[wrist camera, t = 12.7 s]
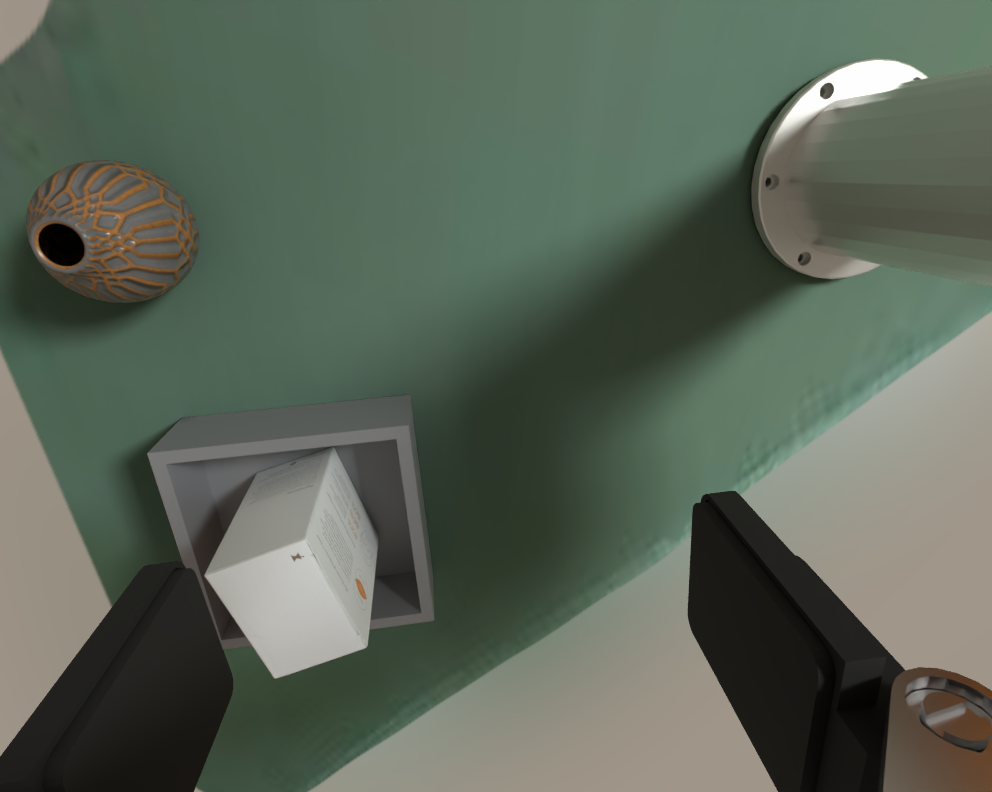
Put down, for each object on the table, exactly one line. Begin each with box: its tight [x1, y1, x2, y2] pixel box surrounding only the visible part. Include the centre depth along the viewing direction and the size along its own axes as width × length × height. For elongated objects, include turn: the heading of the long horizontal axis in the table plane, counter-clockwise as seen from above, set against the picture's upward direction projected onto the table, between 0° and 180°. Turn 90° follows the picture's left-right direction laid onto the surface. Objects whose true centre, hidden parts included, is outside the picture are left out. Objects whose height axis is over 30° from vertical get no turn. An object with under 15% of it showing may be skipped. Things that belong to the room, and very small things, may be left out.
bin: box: [147, 395, 434, 650], centre depth 38 cm, size 15×15×5 cm
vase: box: [26, 160, 199, 303], centre depth 28 cm, size 7×7×9 cm
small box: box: [204, 447, 379, 679], centre depth 35 cm, size 8×6×10 cm
